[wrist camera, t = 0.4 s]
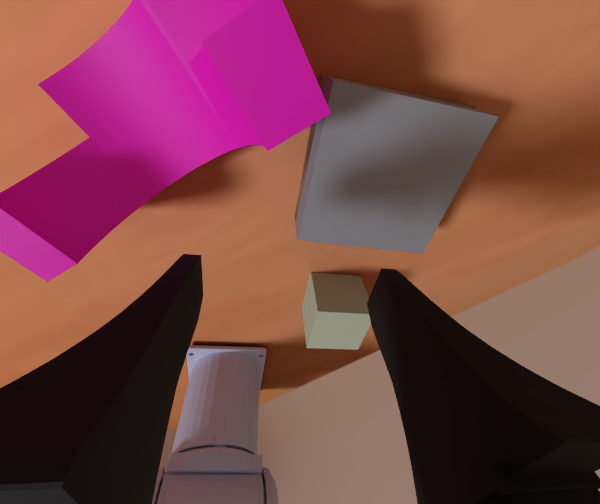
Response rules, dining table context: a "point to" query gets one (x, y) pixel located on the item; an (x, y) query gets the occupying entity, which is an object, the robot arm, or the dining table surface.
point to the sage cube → (335, 311)
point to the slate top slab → (386, 166)
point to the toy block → (158, 117)
